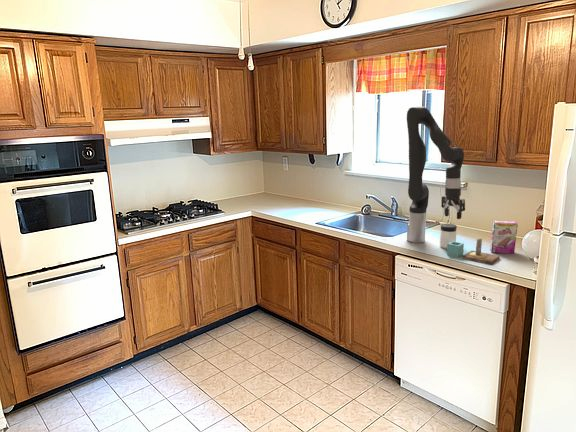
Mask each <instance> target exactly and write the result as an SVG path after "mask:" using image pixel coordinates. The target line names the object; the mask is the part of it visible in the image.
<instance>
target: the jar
mask: <svg viewBox="0 0 576 432" xmlns="http://www.w3.org/2000/svg"><path fill="white" fill-rule="evenodd" d="M457 228H458V227H457V225H456V224H453V223H441V224H440V232H439V248H443V249H447V244H448V243H450V242H452V241H454V242H457Z"/></svg>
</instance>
